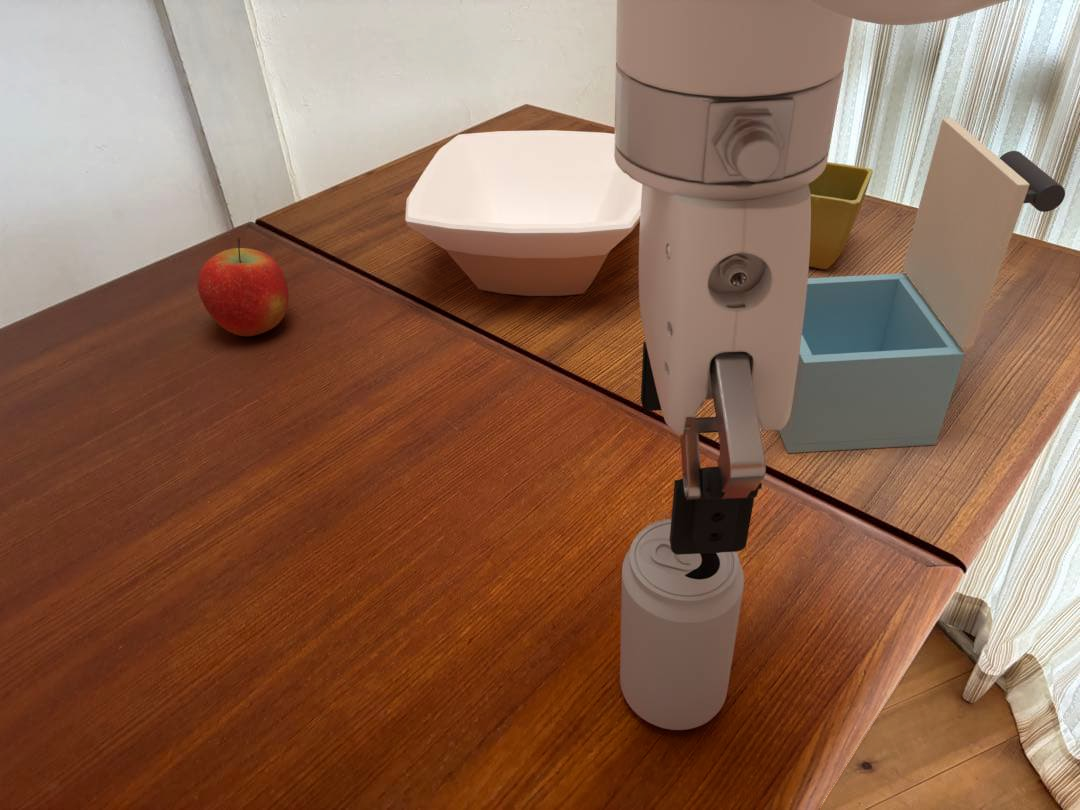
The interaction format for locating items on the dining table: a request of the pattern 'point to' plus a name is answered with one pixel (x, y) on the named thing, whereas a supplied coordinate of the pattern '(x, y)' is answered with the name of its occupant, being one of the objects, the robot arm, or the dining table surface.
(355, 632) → the dining table surface
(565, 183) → the bowl
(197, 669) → the dining table surface
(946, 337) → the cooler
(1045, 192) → the lid
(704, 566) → the beverage can
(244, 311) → the apple
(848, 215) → the flower pot
